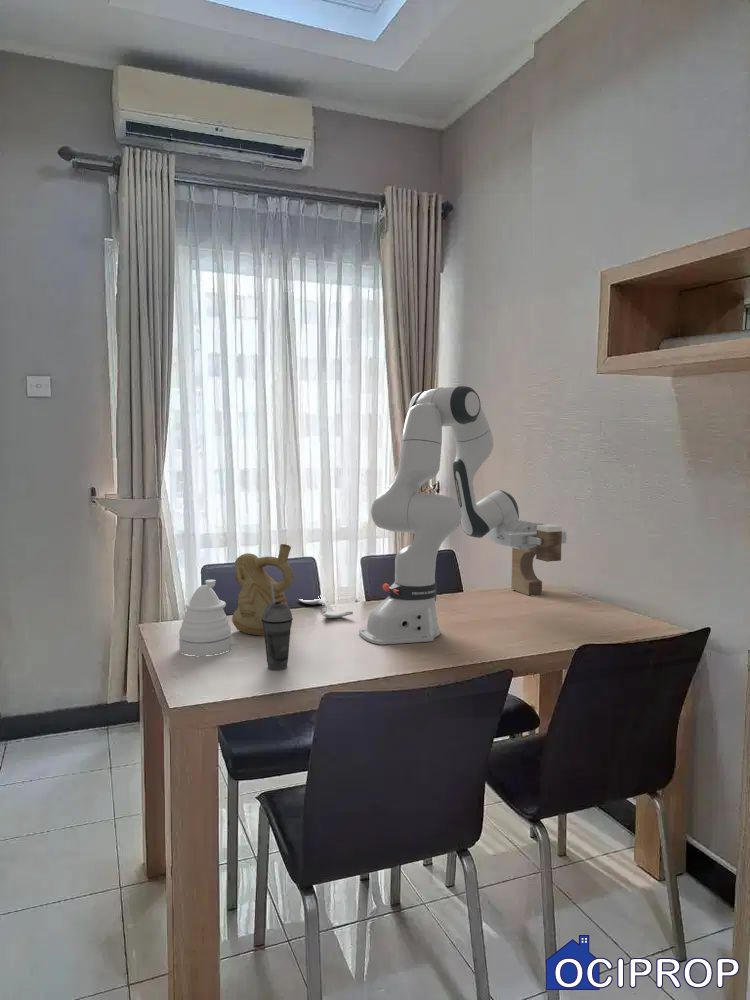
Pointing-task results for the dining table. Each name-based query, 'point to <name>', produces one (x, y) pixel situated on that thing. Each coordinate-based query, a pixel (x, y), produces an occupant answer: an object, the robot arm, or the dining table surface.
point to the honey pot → (205, 624)
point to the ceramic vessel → (259, 588)
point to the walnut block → (549, 542)
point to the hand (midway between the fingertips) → (550, 541)
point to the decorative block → (525, 572)
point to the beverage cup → (277, 633)
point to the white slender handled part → (327, 607)
